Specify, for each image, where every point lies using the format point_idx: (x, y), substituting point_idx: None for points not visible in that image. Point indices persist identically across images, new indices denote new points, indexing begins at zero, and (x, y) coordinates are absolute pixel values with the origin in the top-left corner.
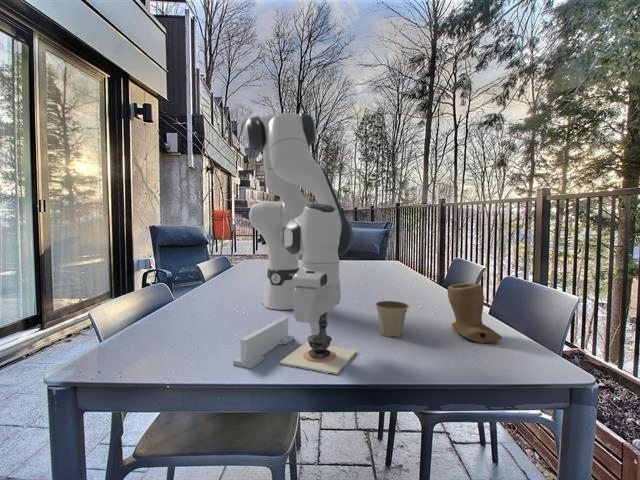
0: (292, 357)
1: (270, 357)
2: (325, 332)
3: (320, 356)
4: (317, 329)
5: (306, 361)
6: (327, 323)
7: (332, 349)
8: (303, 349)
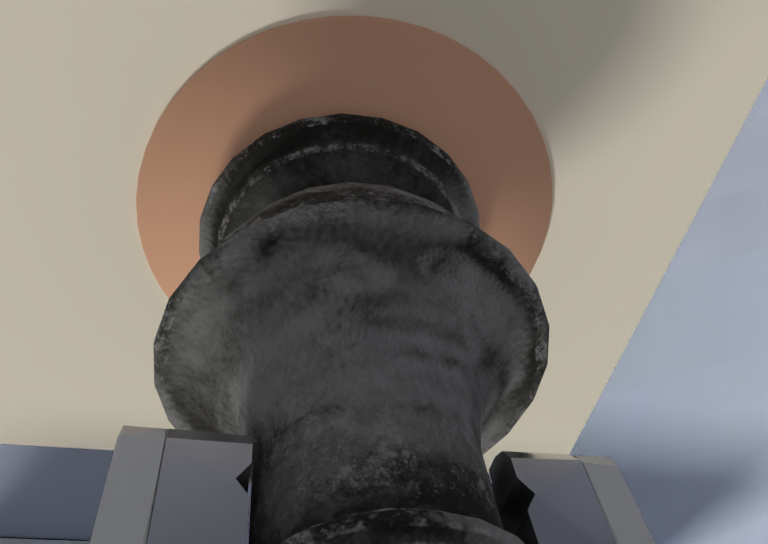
0: None
1: None
2: (401, 381)
3: (476, 211)
4: (647, 541)
5: None
6: (134, 494)
7: (72, 119)
8: None
